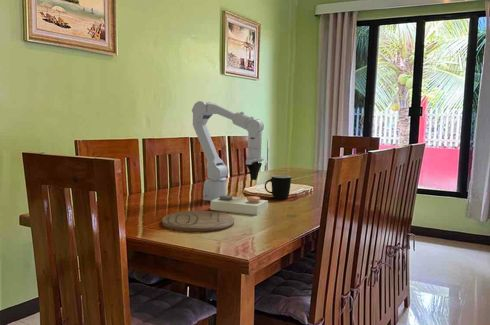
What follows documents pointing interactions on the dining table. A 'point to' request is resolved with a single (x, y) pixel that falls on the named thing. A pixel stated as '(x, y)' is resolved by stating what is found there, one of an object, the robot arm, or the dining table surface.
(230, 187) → the dining table surface
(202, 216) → the trivet
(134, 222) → the dining table surface
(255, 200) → the button
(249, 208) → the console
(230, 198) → the button
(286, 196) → the mug
